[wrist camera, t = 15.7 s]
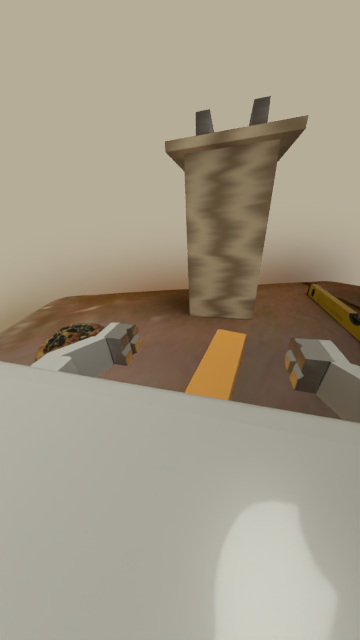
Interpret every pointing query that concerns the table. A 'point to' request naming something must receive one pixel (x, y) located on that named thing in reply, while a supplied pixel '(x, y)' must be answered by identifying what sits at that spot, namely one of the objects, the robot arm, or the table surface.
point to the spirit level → (336, 309)
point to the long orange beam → (219, 366)
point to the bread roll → (68, 337)
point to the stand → (229, 206)
